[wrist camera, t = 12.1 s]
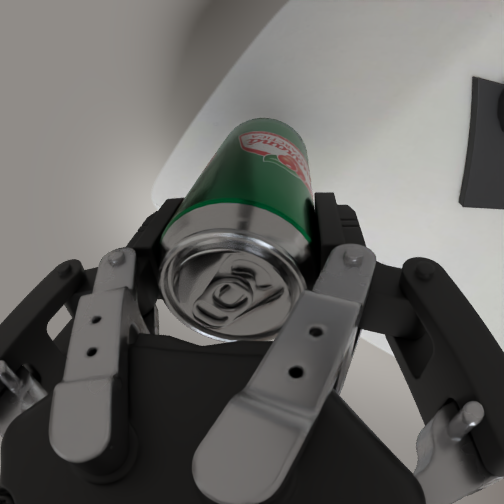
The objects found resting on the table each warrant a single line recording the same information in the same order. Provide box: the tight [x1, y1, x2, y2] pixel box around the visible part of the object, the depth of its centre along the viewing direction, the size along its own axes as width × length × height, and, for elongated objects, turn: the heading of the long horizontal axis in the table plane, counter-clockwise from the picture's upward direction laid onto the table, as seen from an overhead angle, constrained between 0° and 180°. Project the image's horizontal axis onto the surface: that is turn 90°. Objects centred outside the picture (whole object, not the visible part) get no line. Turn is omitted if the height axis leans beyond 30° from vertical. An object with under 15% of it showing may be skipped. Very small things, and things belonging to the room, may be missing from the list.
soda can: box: [158, 118, 320, 343], centre depth 13 cm, size 5×5×12 cm
